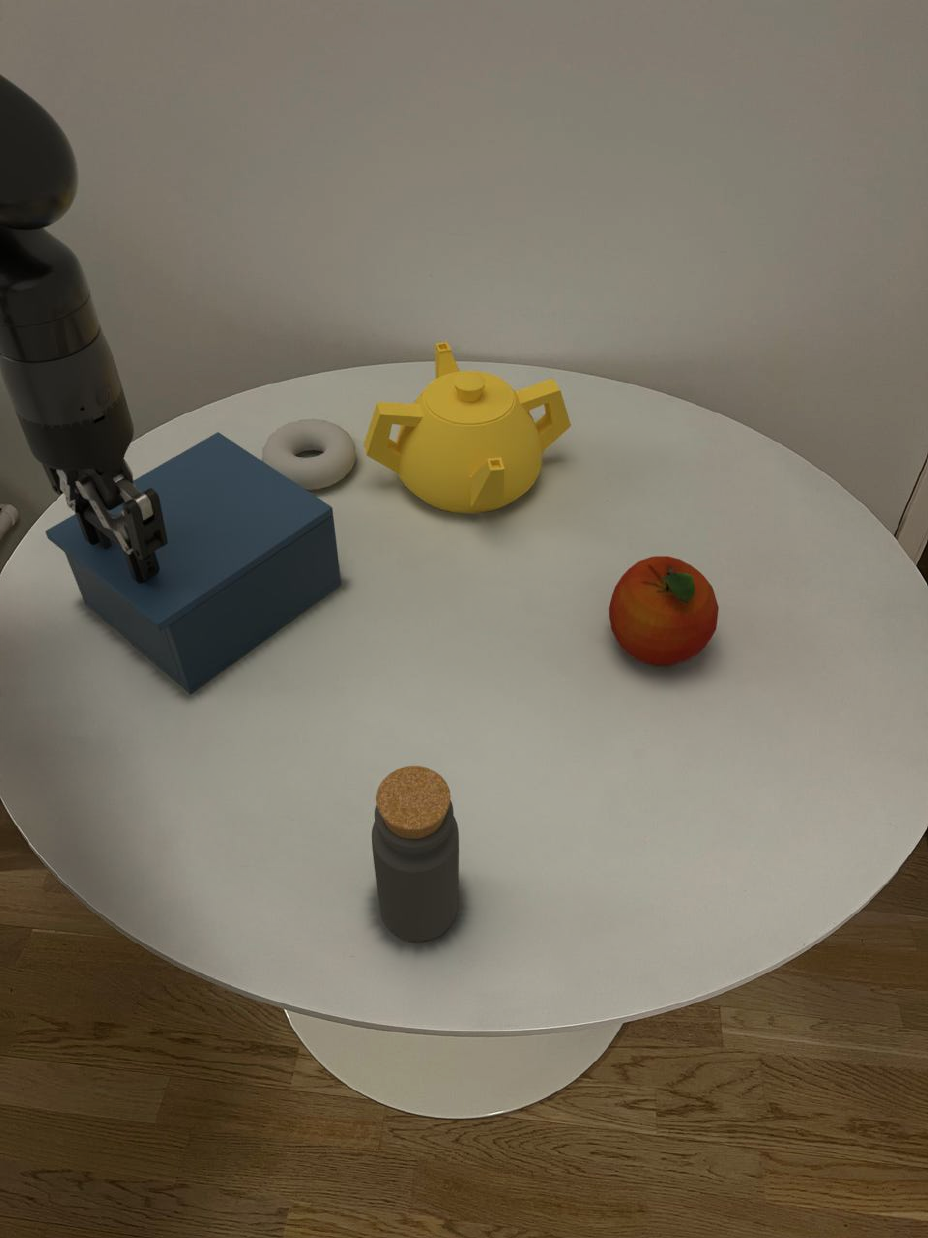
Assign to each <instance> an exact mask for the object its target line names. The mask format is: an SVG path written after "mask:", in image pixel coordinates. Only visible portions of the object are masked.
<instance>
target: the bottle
mask: <svg viewBox="0 0 928 1238" xmlns="http://www.w3.org/2000/svg"><path fill="white" fill-rule="evenodd" d="M375 794H376V795H375V802H376V804H375V808H374V822H373V825H372V830H371V843H372V844H371V846H372V848H371V849H372V857H373V866H374V873H375V881H376V889H377V890H376V891H377V899H378V906H379V913H380V916H381V918H382V921H383V923H384V924H385V926H386V927H387V929H388V930H389V931H390V932H391V933H392V934H393V935H394V936H396V937H398V938H400V939H403V940H405V941H408V942H416V943H419V942H420V943H423V942H427V941H431V940H434V939H437V938H438V937H441V935H443V934H444V933H445V932H447V930H449V929H450V927H451V926H452V924H453V923H454V921H455V919H456V918H457V917H456V916H457V914H458V908H459V891H460V890H459V883H460V832H459V825H458V822H457V819H456V817H455V816H454V815H455V813H454V806H453V803H452V800H451V797H452V796H451V789H450V788H449V785H448V783H447V781H446V780H445V779H444V778H443V776H441V774H440V773H438V772H436V771H435V770H433V769H431V768H429V767H425V766H421V765H408V766H407V765H406V766H403V767H400V768H398V769H395V770H393V771H391V772H390V773H388V774H387V776H386V777H385V778H383V779H382V781H381V782H380V784H379V786H378V788H377V791H376V793H375Z"/></svg>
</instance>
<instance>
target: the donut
mask: <svg viewBox="0 0 928 1238" xmlns="http://www.w3.org/2000/svg"><path fill="white" fill-rule="evenodd" d="M356 449H357V448H356V443H355V441H354V440H353V438H352V437H351V435H350V434H349V433H348V431H347V430H345V429H344V428H343V427H341V426H340V425H339V424H336V423H335V422H331V421H328V420H324V419H317V418H308V419H307V418H305V419H298V420H295V421H291V422H288V423H286V424H284V425H282V426H280V427H278V428H277V429H276V430H275V431H274V432H272V433H271V434H270V435H269V436H268V437H267V439H266V441H265V443H264V445H263V447H262V460H261V461H263V462H264V463H266V464H267V465H269V466H270V467H272V468H273V469H275V470H277V471H278V472H280V473H281V474H283V475H284V476H286V477H287V478H289V479H290V480H292V481H293V482H295V483H296V484H298V485H299V486H301V487H302V488H304V489H305V490H307V491H313V490H321V489H324V488H327V487H330V486H332V485H334V484H336V483H337V482H340V481H341V480H343V479H344V478H345V477H346V476H347V475H348V474H349V473H350V472H351V470H352V469H353V466H354V464H355V462H356V459H357V451H356ZM306 451H307V452H308V451H318V452H321V454H319V455H316V456H312V457H299V456H296V455H298V454H300V453H303V452H306Z"/></svg>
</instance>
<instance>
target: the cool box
mask: <svg viewBox="0 0 928 1238" xmlns="http://www.w3.org/2000/svg"><path fill="white" fill-rule="evenodd" d="M64 555H65V557H66V560H67V562H68V565H69V567H70V569H71V573H72V574H73V577H74V579H75V582H76V584H77V587H78V589H79V592H80V595H81V597H82V600H83V602H84V605H85V606H87V607H88V608H89V609H90V610H92V611H93V612H94V613H95V614H96V615H97V616H99V617H100V618H101V619H102V620H103V621H104V622H105V623H107V624H108V625H109V626H110V627H111V628H112V629H113V630H115V631H116V632H117V633H119V635H121V636H122V637H123V638H124V639H125V640H126V641H128V642H129V644H131V645H132V646H133V647H135V648H136V649H137V650H138V651H139V652H141V653H142V654H143V655H144V656H145V657H146V658H148V659H149V660H150V661H151V662H152V663H153V664H155V666H156V667H158V668H159V669H160V670H162V671H163V672H164V673H165V674H166V675H167V676H169V678H171V679H172V680H173V681H174V682H175V683H176V684H178V685H179V686H180V687H181V688H182V689H184V690H185V691H186V692H187V693H188V694H189V695H193V694H194V693H196V691H198V690H199V689H201V688H202V687H203V686H205V685H206V684H207V683H209V682H210V681H212V680H213V679H214V678H217V676H219V675H220V674H222V673H223V672H225V670H227V669H228V668H230V667H231V666H233V665H234V664H236V662H238V661H239V660H240V659H242V658H243V657H244V656H246V655H248V654H249V653H250V652H251V651H253V650H254V649H256V648H257V647H258V646H260V645H261V644H263V643H264V642H265V641H266V640H268V639H270V638H271V637H272V636H273V635H275V634H276V633H278V632H279V631H280V630H282V629H283V628H284V627H286V626H288V625H289V624H290V623H291V622H292V621H294V620H295V619H297V618H298V617H300V616H301V615H302V614H303V613H305V612H307V611H308V610H309V609H310V608H312V607H313V606H315V605H316V604H317V603H319V602H320V601H321V600H323V599H325V598H326V597H327V596H328V595H330V594H331V593H333V592H334V591H335V590H337V589H339V587H341V586H342V578H341V570H340V561H339V551H338V543H337V536H336V527H335V519H334V514H333V515H332V516H330V517H329V518H327V519H326V520H324V521H323V522H321V523H320V524H318V525H317V526H315V527H314V528H312V529H311V530H310V531H308V532H307V533H305V534H304V535H302V536H301V537H299V538H298V539H296V540H295V541H293V542H292V543H290V544H289V545H287V546H286V547H284V548H283V549H281V550H280V551H278V552H277V553H275V554H274V555H272V556H271V557H270V558H268V559H267V560H265V561H264V562H262V563H261V564H259V565H258V566H256V567H255V568H253V569H252V570H250V571H249V572H247V573H246V574H244V575H243V576H241V577H240V578H238V579H237V580H235V581H234V582H233V583H231V584H230V585H228V586H227V587H225V588H224V589H222V590H221V591H219V592H218V593H216V594H215V595H213V596H212V597H210V598H209V599H207V600H206V601H204V602H203V603H201V604H200V605H198V606H197V607H195V608H194V609H193V610H191V611H190V612H188V613H187V614H185V615H184V616H182V617H181V618H179V619H178V620H176V621H175V622H173V623H172V624H170V625H169V626H167V627H166V628H164V629H163V630H161V631H159V630H157V629H156V628H155V627H154V626H153V625H151V624H150V623H149V622H148V621H147V620H145V619H144V618H143V617H142V616H141V615H139V614H138V613H137V612H136V611H135V610H133V609H132V608H131V607H130V606H129V605H127V604H126V603H125V602H124V601H123V600H121V599H120V598H119V597H118V596H117V595H115V594H114V593H113V592H112V591H111V590H109V589H108V588H107V587H106V586H105V585H103V584H102V583H101V582H100V581H99V580H97V579H96V578H95V577H94V576H93V575H91V574H90V573H89V572H88V571H87V570H85V569H84V568H83V567H82V566H80V565H79V564H78V563H77V562H76V561H74V560H73V559H72V558H71V557H70V556H68V555H67V554H66V553H65V552H64Z"/></svg>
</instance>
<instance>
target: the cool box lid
mask: <svg viewBox="0 0 928 1238" xmlns="http://www.w3.org/2000/svg"><path fill="white" fill-rule="evenodd" d="M133 482H134V484H135V485H136V487H137V489H138V490H140V491H141V492H144V491H146V490H147V489H149V488H152V489H154V490H155V492H157V494H158V496H159V499H160V504H161V509H162V514H163V519H164V524H165V530H166V535H167V540H168V544H166V545H165V546H163V547H161V548H159V549H157V550H156V551H155V554H156V558H157V561H158V564H159V568H160V570H159V572H158V573H157V574H156V575H155V576H153V577H152V578H150V579H148V580H147V581H145V582H144V583H141V584H140V583H138V582H136V581H135V580H134V579H133V578H132V575H131V572H130V569H129V566H128V564H127V561H126V558H125V555H124V552H123V548H122V546H121V544H120V542H119V540H118V539H117V537H116V535H115V533H114V532H113V530H110V529H106V528H104V527H103V525H102V523H101V521H100V520H99V518H98V516H97V514H96V513H95V511H94V509H93V507H92V506H91V504H90V505H89V506H87V507H86V509H85V510H84V518H85V519H86V520H87V521H88V522H90V523H91V524H92V525H93V526H94V528H95V531H96V534H97V536H98V539H99V543H97V544H96V545H91V544H90V543H88V542H87V541H86V540H85V538H84V535H83V532H82V530H81V527H80V524H79V522H78V519H77V516H76V514H75V513H74V514H73V515H71V516H69V517H67V518H65V519H64V520H62V521H60V522H59V523H57V524H55V525H54V526H51V527H49V528H48V529H46V530H45V531H44V532H45V535H46V537H47V539H48V540H49V541H50V542H51V543H53V544H54V545H55V546H56V547H58V549H60V550H61V551H62V552H64V554H65V553H66V554H67V555H68V556H70V557H71V558H72V559H73V560H74V561H76V562H77V563H78V564H79V565H80V566H82V567H83V568H84V569H85V570H87V571H88V572H89V573H90V574H91V575H93V576H94V577H95V578H96V579H97V580H99V581H100V582H101V583H102V584H103V585H105V586H106V587H107V588H108V589H109V590H111V591H112V592H113V593H114V594H115V595H117V596H118V597H119V598H120V599H121V600H123V601H124V602H125V603H126V604H127V605H129V606H130V607H131V608H132V609H133V610H135V611H136V612H137V613H138V614H139V615H141V616H142V617H143V618H144V619H145V620H147V621H148V622H149V623H150V624H151V625H153V626H154V627H155V628H156V629H157V630H159V631H161V630H163V629H164V628H166V627H167V626H169V625H170V624H172V623H173V622H175V621H176V620H178V619H179V618H181V617H182V616H184V615H185V614H187V613H188V612H190V611H191V610H193V609H194V608H195V607H197V606H198V605H200V604H201V603H203V602H204V601H206V600H207V599H209V598H210V597H212V596H213V595H215V594H216V593H218V592H219V591H221V590H222V589H224V588H225V587H227V586H228V585H230V584H231V583H233V582H234V581H235V580H237V579H238V578H240V577H241V576H243V575H244V574H246V573H247V572H249V571H250V570H252V569H253V568H255V567H256V566H258V565H259V564H261V563H262V562H264V561H265V560H267V559H268V558H270V557H271V556H272V555H274V554H275V553H277V552H278V551H280V550H281V549H283V548H284V547H286V546H287V545H289V544H290V543H292V542H293V541H295V540H296V539H298V538H299V537H301V536H302V535H304V534H305V533H307V532H308V531H310V530H311V529H312V528H314V527H315V526H317V525H318V524H320V523H321V522H323V521H324V520H326V519H327V518H329V517H330V516H332V515H333V516H334V510H333V509H334V508H333V506H332V505H330V504H329V503H328V502H327V503H326V501H324V500H322V499H320V497H318V496H316V495H314V494H313V493H312V492H310V491H309V490H305V489H304V488H302V487H301V486H299V485H298V484H296V483H295V482H293V481H292V480H290V479H289V478H287V477H286V476H284V475H283V474H281V473H280V472H278V471H277V470H275V469H273V468H272V467H270V466H269V465H267V464H266V463H264V462H263V461H262V460H261V459H260V458H259V457H257V456H256V455H254V454H252V453H251V452H250V451H247V449H245V448H243V447H242V446H240V445H239V444H237V443H236V442H234V441H232V440H231V439H230V438H228V437H227V436H225V435H223V434H221V432H219V431H218V432H216V433H214V434H212V435H210V436H209V437H207V438H205V439H204V440H202V441H199V442H198V443H196V444H195V445H192V446H191V447H189V448H187V449H186V450H184V451H182V452H180V453H179V454H177V455H176V456H173V457H172V458H170V459H168V460H166V461H164V462H163V463H161V464H160V465H158V466H156V467H154V468H153V469H151V470H149V471H148V472H146V473H144V474H143V475H140V476H138V477H137V478H136V479H133ZM124 503H125V502H124ZM122 510H123V507H122V504H121V505H119V506H117V507H116V508H114V509H112V510H107V511H108V512H109V514H110V516H111V517H112V516H114V515H115V514H117V513H119V512H120V511H122ZM124 529H125V531H126V533H127V535H128V537H129V532H128V528H127V524H125V526H124Z"/></svg>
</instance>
